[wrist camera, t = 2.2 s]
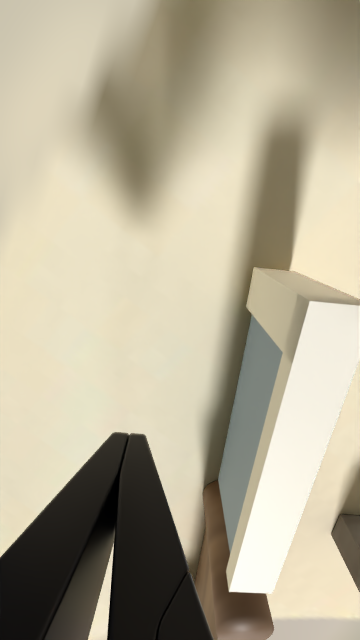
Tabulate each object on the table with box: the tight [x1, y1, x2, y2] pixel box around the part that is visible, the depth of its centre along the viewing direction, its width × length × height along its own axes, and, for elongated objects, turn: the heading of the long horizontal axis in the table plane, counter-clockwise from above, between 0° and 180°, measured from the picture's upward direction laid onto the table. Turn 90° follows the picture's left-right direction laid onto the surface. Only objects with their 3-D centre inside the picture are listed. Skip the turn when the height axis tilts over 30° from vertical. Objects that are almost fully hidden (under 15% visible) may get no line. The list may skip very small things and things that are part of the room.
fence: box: [194, 480, 360, 640], centre depth 16 cm, size 11×15×6 cm
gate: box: [218, 267, 360, 594], centre depth 11 cm, size 2×12×5 cm, turn 174°
